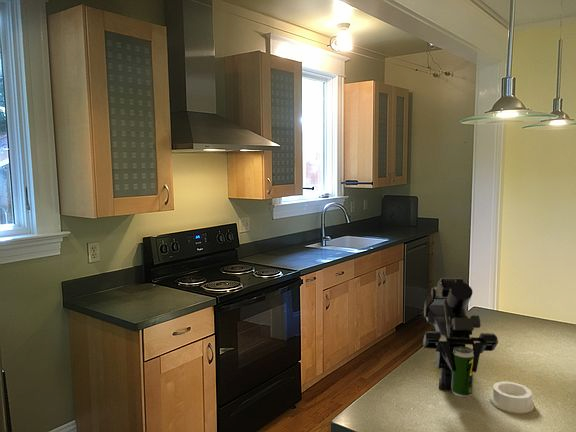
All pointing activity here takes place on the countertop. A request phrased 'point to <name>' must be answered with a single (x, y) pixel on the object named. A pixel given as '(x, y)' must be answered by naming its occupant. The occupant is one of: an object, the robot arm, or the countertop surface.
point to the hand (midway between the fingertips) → (464, 371)
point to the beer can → (462, 371)
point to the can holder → (512, 398)
